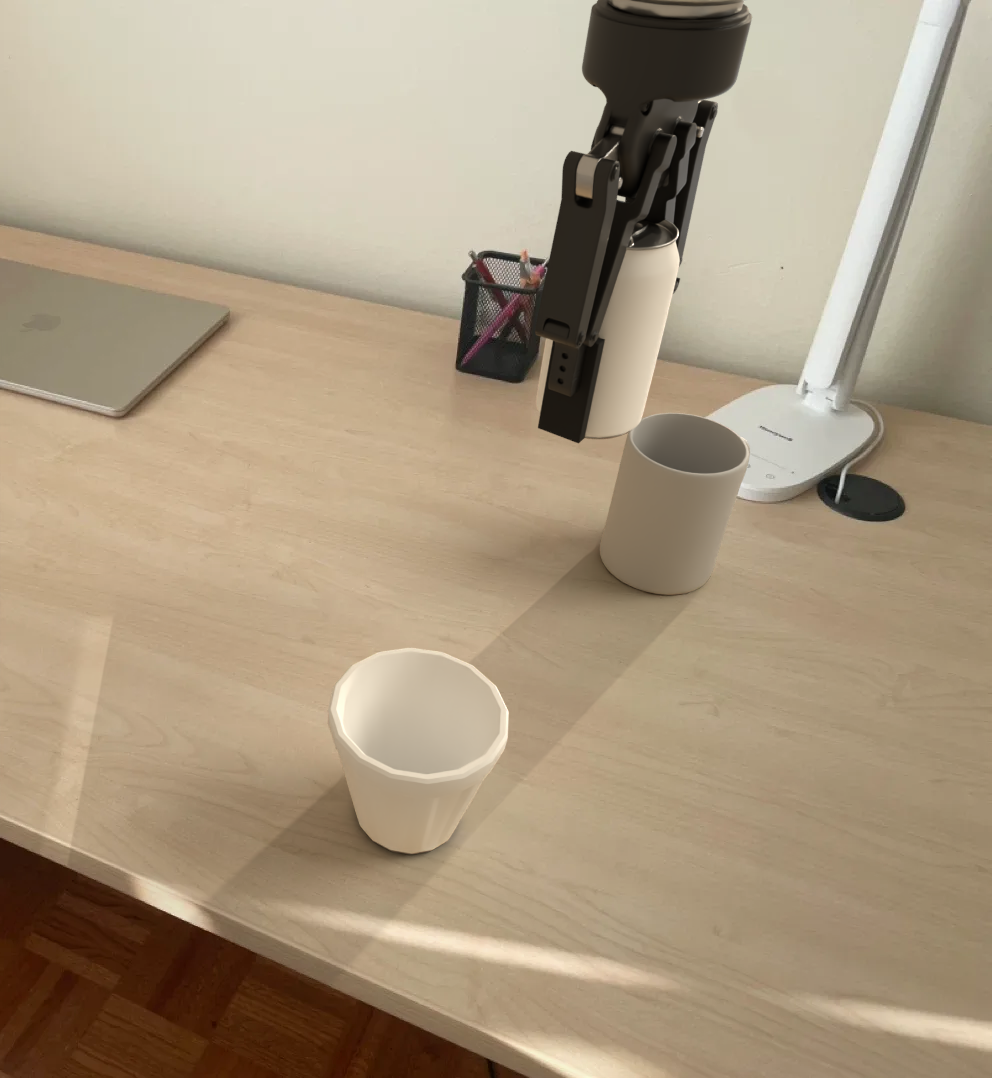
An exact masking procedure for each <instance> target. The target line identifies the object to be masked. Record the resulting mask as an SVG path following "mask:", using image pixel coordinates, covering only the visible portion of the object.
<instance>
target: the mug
mask: <svg viewBox="0 0 992 1078" xmlns="http://www.w3.org/2000/svg"><path fill="white" fill-rule="evenodd" d="M750 456H751V446H750V444H749V442H748V440H747V439H746V438H744V437H743V436H741V435H739V434H738V433H737V432H736V431H734V430H733V429H731V428H729V427H728V426H726V425H725V424H723V423H721V422H718V421H716V420H713V419H711V418H708V417H704V416H700V415H697V414H696V415H695V414H691V413H682V412H661V413H655V414H649V415H647V416H644V417H642V419H641V421H640V423H639V424H638V425H637V426H636V427H635V428H634V429H632V430H630V431H629V432H628V433H627V435H626V438H625V441H624V446H623V450H622V455H621V459H620V463H619V468H618V471H617V476H616V480H615V484H614V488H613V492H612V496H611V500H610V504H609V508H608V512H607V516H606V520H605V523H604V528H603V530H602V535H601V538H600V543H599V556H600V560H601V562H602V563H603V565H604V567H605V568H606V569H607V571H608V572H609V573H610V574H612V576H613V577H615V578H616V579H617V580H618V581H620V582H621V583H623V584H625V585H627V586H630V587H632V588H634V589H637V590H639V591H641V592H645V593H650V594H656V595H664V596H674V595H675V596H676V595H683V594H689V593H691V592H694V591H696V590H698V589H699V588H701V587H703V586H704V585H706V583H707V582H708V581H709V579H710V578H711V576H712V574H713V572H714V569H715V566H716V563H717V558H718V556H719V553H720V549H721V546H722V542H723V540H724V538H725V533H726V531H727V528H728V524H729V521H730V519H731V515H732V513H733V510H734V507H735V503H736V502H737V501H736V500H737V497H738V494H739V491H740V488H741V485H742V483H743V481H744V477H745V475H746V472H747V469H748V466H749V461H750Z"/></svg>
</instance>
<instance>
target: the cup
mask: <svg viewBox="0 0 992 1078" xmlns="http://www.w3.org/2000/svg"><path fill="white" fill-rule="evenodd" d="M328 703H329V704H328V708H327V725H328V729H329V731H330V735H331V738H332V741H333V744H334V747H335V749H336V751H337V753H338V758H339V760H340V764H341V767H342V771H343V775H344V777H345V781H346V785H347V788H348V792H349V795H350V798H351V801H352V805H353V808H354V811H355V815H356V817H357V818H356V819H357V822H358V824H359V826H360V827H361V829H362V830H363V832H364V833H365V834H366V835H367V836H368V837H369V839H371V840H372V842H373V843H375V844H377V845H379V846H380V847H383V848H384V849H386V850H388V851H390V852H393V853H398V854H405V855H410V856H413V855H417V854H418V855H419V854H423V853H429V852H432V851H433V850H435V849H437V848H438V847H440V846H442V845H444V844H445V843H447V842H448V841H449V840H450V838H451V837H452V835H453V834H454V832H455V830H456V829H457V827H458V825H459V823H460V822H461V820H462V819H463V816H464V815H465V813H466V811H467V809H468V808H469V806H470V805H471V802H473V800H474V797H475V796H476V794H477V792H478V791H479V789H480V787H481V785H482V783H483V782H484V780H485V779H486V777H487V776H489V775H490V774H491V771H493V769H494V767H495V766H496V764H497V762H498V761H499V759H500V758H501V756H502V754H503V753H504V751H505V750H506V747H507V743H508V738H509V737H508V736H509V715H510V714H509V713H510V712H509V710H508V708H507V707H508V706H507V704H505V701H504V698H503V697H502V695H501V693H500V690H499V689H498V686H497V685H496V684H494V683H493V682H492V681H491V680H490V679H489V678H488V677H487V676H485V674H483V673H482V672H481V671H480V670H479V669H477V667H475V666H474V665H473V664H471V663H468V662H466V661H464V660H462V659H459V658H457V657H455V656H453V655H450V654H448V653H446V652H444V651H437V650H431V649H424V648H417V647H416V648H415V647H404V648H396V649H390V650H389V649H388V650H383V651H378V652H376V653H373V654H371V655H370V656H368V657H365V658H364V659H361V660H359V661H357V662H355V663H353V664H351V665H350V666H349V667H348V668H347V670H346V671H344V673H343V674H342V675H341V676H340V677H339V678H338V680H337V681H336V682H335V683H334V684H333V686H332V690H331V695H330V699H329V702H328Z"/></svg>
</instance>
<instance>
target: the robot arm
mask: <svg viewBox="0 0 992 1078" xmlns="http://www.w3.org/2000/svg"><path fill="white" fill-rule="evenodd" d="M746 1H747V0H597V1H596V2H595V3H594V4H593V5H592V6H591V9H590V14H589V15H590V16H589V22H588V28H587V33H586V39H585V46H584V52H583V58H582V63H581V73H582V76H583V78H584V80H585V81H586V82H587V83H588V84H589V85H591V86H592V87H594V88H598V89H599V90H600V91H601V92H602V94H603V95H604V97H605V105H604V107H603V111H602V114H601V116H600V120H599V123H598V125H597V127H596V129H595V132H594V136H593V139H592V142H591V145H590V151H588V152H587V153H583V152H579V151H574V150H570V151H569V152H568V154H566V156H565V159H564V161H563V164H562V170H561V171H562V173H561V174H562V175H561V199H560V204H559V209H558V214H557V219H556V224H555V229H554V234H553V238H552V244H551V249H550V253H549V258H548V263H547V267H546V273H545V277H544V283H543V287H542V292H541V298H540V303H539V307H538V312H537V318H536V321H535V322H536V323H535V328H534V333H535V335H536V336H538V337H542V338H544V339H546V338H547V339H550V340H553V343H552V349H551V355H550V360H549V366H548V372H547V378H546V383H545V389H544V395H543V401H542V406H541V412H540V414H539V419H538V425H537V429H539V430H542V431H543V432H544V431H545V432H547V433H550V434H552V435H555V436H557V437H560V438H563V439H566V440H568V441H571V442H574V443H576V444H580V443H581V442H583V440H585V439H586V438H585V433H586V429H587V424H588V419H589V414H590V409H591V405H592V400H593V395H594V390H595V385H596V381H597V376H598V371H599V366H600V361H601V356H602V352H603V347H604V342H605V339H602V338H599V337H598V336H599V332H600V329H601V326H602V323H603V320H604V317H605V314H606V311H607V307H608V304H609V301H610V298H611V295H612V292H613V289H614V286H615V283H616V280H617V277H618V274H619V271H620V268H621V265H622V262H623V259H624V256H625V253H626V248H627V247H628V244H629V241H630V238H631V235H632V232H633V229H634V226H635V224H636V223H637V222H638V221H640V220H644V221H648V222H651V223H654V224H659V223H660V222H662V221H664V220H665V219H666V220H668V221H669V222H671V223H672V224H674V225H675V226H676V228H677V229H678V232H679V236H678V238H677V240H676V245H677V249H678V253H679V259H680V262H679V268H680V267H681V265H682V262H683V256H684V251H685V248H686V242H687V237H688V232H689V228H690V223H691V220H692V219H691V218H692V215H693V210H694V206H695V205H694V204H695V200H696V195H697V190H698V186H699V180H700V176H701V172H702V167H703V163H704V157H705V152H706V148H707V144H708V142H709V141H708V140H709V138H710V134H711V132H712V129H713V126H714V123H715V119H716V117H717V115H718V109H719V106H718V105H719V104H718V102H717V101H713V100H709V99H714V98H716V97H719V96H721V95H724V94H725V93H727V92H728V91H730V89H732V88H733V87H734V86H735V84H736V82H737V80H738V78H739V77H738V76H739V72H740V68H741V65H742V60H743V56H744V52H745V48H746V44H747V41H748V36H749V33H750V29H751V24H752V21H753V15H752V13H751V12H750V8H749V7H748V6H747V5H746V4H744V3H745V2H746ZM618 197H622V198H624V201H623V200H619V199H618ZM680 281H681V278H680V277H677V278H676V282H675V286H674V291H673V295H674V294H675V293H676V292H677V290H678V288H679V285H680Z"/></svg>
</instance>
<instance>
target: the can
mask: <svg viewBox="0 0 992 1078" xmlns="http://www.w3.org/2000/svg"><path fill="white" fill-rule="evenodd" d="M678 236H679V232H678V229H677V228H676V226H675V225H674V224H672V223H671V222H669V221H668V220H666V219H665V220H664V221H662V222H660V223H659V224H654V223H651V222H648V221H644V220H640V221H638V222H637V223H636V224H635V226H634V229H633V232H632V235H631V238H630V241H629V244H628V247H627V248H626V253H625V256H624V259H623V262H622V265H621V268H620V271H619V274H618V277H617V280H616V283H615V286H614V289H613V292H612V295H611V298H610V301H609V304H608V307H607V311H606V314H605V317H604V320H603V323H602V326H601V329H600V332H599V336H598V337H599V338H602V339H605V342H604V347H603V352H602V356H601V361H600V366H599V371H598V376H597V381H596V385H595V390H594V395H593V400H592V405H591V409H590V414H589V419H588V424H587V429H586V433H585V438H584V439H588V440H609V439H615V438H618V437H623V436H624V435H626V434H628V432H629V431H630V430H632V429H634V428H635V427H636V426H637V425H638V424H639V423H640V421H641V419H642V418H643V415H644V413H645V408H646V404H647V400H648V396H649V392H650V388H651V384H652V380H653V376H654V372H655V369H656V365H657V361H658V356H659V351H660V348H661V344H662V340H663V335H664V332H665V328H666V324H667V320H668V315H669V312H670V307H671V303H672V299H673V295H674V294H673V291H674V286H675V282H676V278H678V273H679V268H680V267H679V262H680V259H679V253H678V249H677V245H676V240H677V238H678ZM552 343H553V340H550V339H547V338H545V342H544V348H543V354H542V359H541V365H540V372H539V379H538V385H537V391H536V397H535V408H536V410H537V412H538V414H539V415H540V412H541V406H542V401H543V395H544V389H545V383H546V378H547V372H548V366H549V360H550V355H551V349H552Z"/></svg>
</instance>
